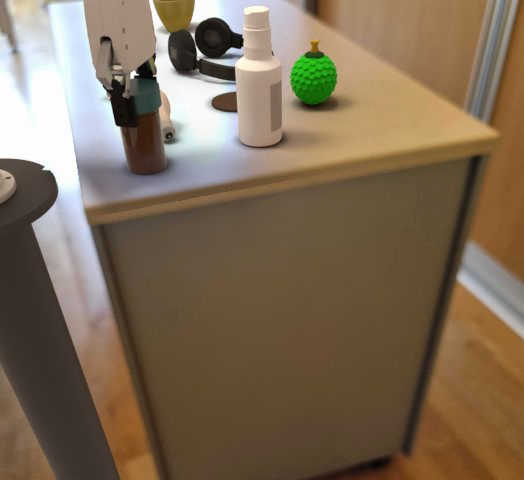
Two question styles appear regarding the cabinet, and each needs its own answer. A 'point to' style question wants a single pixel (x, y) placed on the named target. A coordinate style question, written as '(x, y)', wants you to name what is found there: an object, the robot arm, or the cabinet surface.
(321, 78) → the ornament
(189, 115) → the cabinet surface
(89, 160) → the cabinet surface
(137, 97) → the lid
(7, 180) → the robot arm
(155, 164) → the jar
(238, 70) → the spray bottle
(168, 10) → the flower pot
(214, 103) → the coaster
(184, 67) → the headphones
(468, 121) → the cabinet surface
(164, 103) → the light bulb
